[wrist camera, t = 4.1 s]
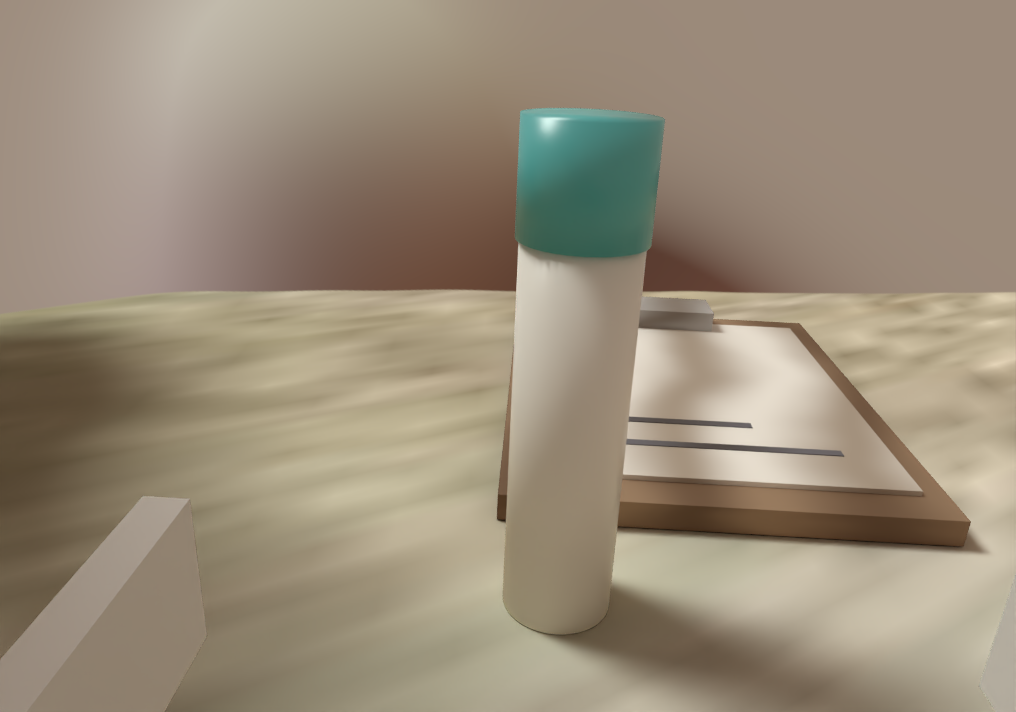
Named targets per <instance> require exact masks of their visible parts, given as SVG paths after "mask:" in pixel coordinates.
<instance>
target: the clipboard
mask: <svg viewBox="0 0 1016 712" xmlns="http://www.w3.org/2000/svg"><path fill="white" fill-rule="evenodd" d="M713 316H714V313H713V311H712V310H711V308H710V306H709V305H708V303H707V301H706V300H697V299H678V298H658V297H642V299H641V308H640V318H639V327H638V337H637V346H636V355H635V365H634V374H633V384H632V393H631V402H630V412H629V421H628V431H627V440H626V449H625V459H624V468H623V478H622V487H621V496H620V506H619V515H618V525H617V526H621V527H638V528H655V529H672V530H690V531H707V532H724V533H741V534H758V535H775V536H792V537H809V538H826V539H843V540H860V541H877V542H894V543H911V544H928V545H946V546H964V543H965V540H966V536H967V533H968V530H969V526H970V523H971V521H970V520H969V519H968V518H967V517H966V516H965V514H964V513H963V512H962V511H961V510H960V509H959V507H958V506H957V505H956V504H955V503H954V502H953V500H952V499H951V498H950V497H949V496H948V495H947V494H946V492H945V491H944V490H943V489H942V488H941V487H940V485H939V484H938V483H937V482H936V481H935V480H934V478H933V477H932V476H931V475H930V474H929V473H928V472H927V470H926V469H925V468H924V467H923V466H922V465H921V463H920V462H919V461H918V460H917V459H916V458H915V457H914V455H913V454H912V453H911V452H910V451H909V450H908V448H907V447H906V446H905V445H904V444H903V443H902V441H901V440H900V439H899V438H898V437H897V436H896V435H895V433H894V432H893V431H892V430H891V429H890V428H889V426H888V425H887V424H886V423H885V422H884V421H883V420H882V418H881V417H880V416H879V415H878V414H877V413H876V411H875V410H874V409H873V408H872V407H871V406H870V404H869V403H868V402H867V401H866V400H865V399H864V398H863V396H862V395H861V394H860V393H859V392H858V391H857V389H856V388H855V387H854V386H853V385H852V384H851V382H850V381H849V380H848V379H847V378H846V377H845V376H844V374H843V373H842V372H841V371H840V370H839V369H838V367H837V366H836V365H835V364H834V363H833V362H832V361H831V359H830V358H829V357H828V356H827V355H826V354H825V352H824V351H823V350H822V349H821V348H820V347H819V345H818V344H817V343H816V342H815V341H814V340H813V339H812V337H811V336H810V335H809V334H808V333H807V332H806V330H805V329H804V328H803V327H802V326H801V325H800V324H799V323H781V322H762V321H742V320H723V319H713ZM513 355H514V347H513ZM512 377H513V357H512V366H511V376H510V385H509V394H508V404H507V413H506V423H505V432H504V442H503V451H502V461H501V470H500V480H499V489H498V506H497V519H502V520H506V509H507V487H508V465H509V443H510V421H511V399H512Z"/></svg>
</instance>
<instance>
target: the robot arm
mask: <svg viewBox="0 0 1016 712" xmlns="http://www.w3.org/2000/svg"><path fill="white" fill-rule="evenodd" d="M206 637H207V631H206V623H205V615H204V607H203V599H202V591H201V583H200V575H199V567H198V559H197V551H196V543H195V535H194V527H193V519H192V511H191V503H190V499H187V498H170V497H153V496H142V497H141V498H140V500H139V501H138V502H137V503H136V504H135V505H134V506H133V508H132V509H131V510H130V511H129V512H128V513H127V515H126V516H125V517H124V518H123V519H122V520H121V521H120V523H119V524H118V525H117V526H116V527H115V528H114V529H113V531H112V532H111V533H110V534H109V535H108V536H107V537H106V539H105V540H104V541H103V542H102V543H101V544H100V545H99V547H98V548H97V549H96V550H95V551H94V552H93V553H92V555H91V556H90V557H89V558H88V559H87V560H86V561H85V563H84V564H83V565H82V566H81V567H80V568H79V569H78V571H77V572H76V573H75V574H74V575H73V576H72V577H71V579H70V580H69V581H68V582H67V583H66V584H65V586H64V587H63V588H62V589H61V590H60V591H59V592H58V594H57V595H56V596H55V597H54V598H53V599H52V600H51V602H50V603H49V604H48V605H47V606H46V607H45V608H44V610H43V611H42V612H41V613H40V614H39V615H38V616H37V618H36V619H35V620H34V621H33V622H32V623H31V624H30V626H29V627H28V628H27V629H26V630H25V631H24V632H23V634H22V635H21V636H20V637H19V638H18V639H17V640H16V642H15V643H14V644H13V645H12V646H11V647H10V648H9V650H8V651H7V652H6V653H5V654H4V655H3V657H2V658H1V659H0V712H165V710H166V708H167V706H168V705H169V703H170V701H171V699H172V698H173V696H174V694H175V692H176V691H177V689H178V687H179V685H180V683H181V682H182V680H183V678H184V676H185V675H186V673H187V671H188V669H189V667H190V666H191V664H192V662H193V660H194V659H195V657H196V655H197V653H198V652H199V650H200V648H201V646H202V644H203V643H204V641H205V639H206ZM979 687H980V689H981V690H982V692H983V693H984V695H985V696H986V698H987V699H988V701H989V702H990V704H991V705H992V707H993V708H994V710H995V711H996V712H1016V575H1015V578H1014V581H1013V584H1012V587H1011V590H1010V593H1009V596H1008V599H1007V602H1006V605H1005V608H1004V611H1003V614H1002V617H1001V620H1000V623H999V626H998V629H997V632H996V635H995V638H994V641H993V644H992V647H991V650H990V653H989V656H988V659H987V662H986V665H985V668H984V671H983V674H982V677H981V680H980V683H979Z"/></svg>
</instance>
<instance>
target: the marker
mask: <svg viewBox="0 0 1016 712" xmlns="http://www.w3.org/2000/svg"><path fill="white" fill-rule="evenodd" d="M664 123H665V119H664V118H662V117H659V116H655V115H650V114H643V113H636V112H626V111H616V110H602V109H581V108H539V109H528V110H523V111H521V112H520V132H519V157H518V177H517V200H516V224H515V239H516V240H517V241H518V242H519V245H518V268H517V289H516V311H515V333H514V355H513V377H512V399H511V421H510V443H509V465H508V487H507V509H506V531H505V553H504V574H503V603H504V605H505V608H506V609H507V611H508V613H509V614H510V615H511V616H512V617H513V618H514V619H515V620H516V621H518V622H519V623H521V624H522V625H524V626H526V627H528V628H530V629H533V630H536V631H539V632H543V633H548V634H557V635H565V634H574V633H579V632H583V631H586V630H588V629H590V628H592V627H594V626H596V625H597V624H598V623H600V622H601V621H602V619H603V618H604V617H605V615H606V614H607V611H608V608H609V600H610V590H611V581H612V572H613V562H614V553H615V543H616V534H617V525H618V515H619V506H620V496H621V487H622V478H623V468H624V459H625V449H626V440H627V431H628V421H629V412H630V402H631V393H632V384H633V374H634V365H635V355H636V346H637V337H638V327H639V318H640V308H641V299H642V290H643V280H644V271H645V261H646V252H647V250H648V249H649V248H650V247H651V244H652V234H653V224H654V215H655V207H656V197H657V188H658V179H659V170H660V160H661V150H662V142H663V133H664Z"/></svg>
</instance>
